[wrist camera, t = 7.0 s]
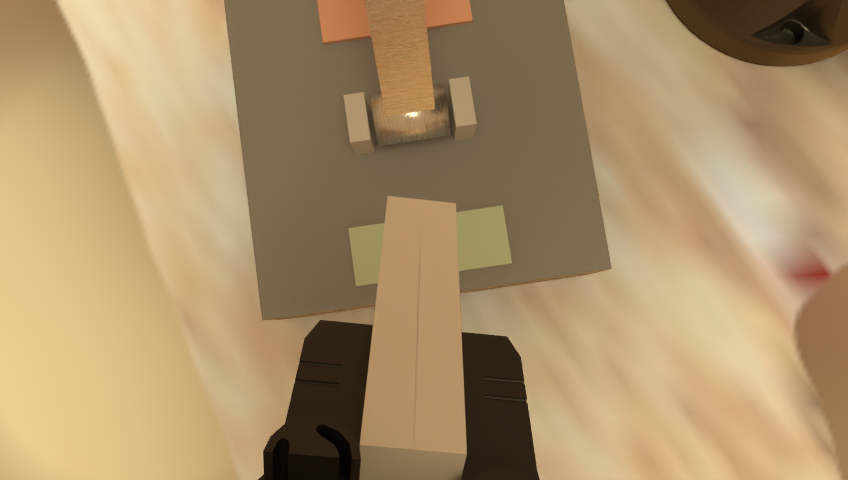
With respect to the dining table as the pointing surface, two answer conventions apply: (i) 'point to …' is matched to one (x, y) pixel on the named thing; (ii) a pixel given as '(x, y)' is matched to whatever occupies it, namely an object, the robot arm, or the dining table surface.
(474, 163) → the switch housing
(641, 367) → the dining table surface
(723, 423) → the dining table surface
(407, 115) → the lever
